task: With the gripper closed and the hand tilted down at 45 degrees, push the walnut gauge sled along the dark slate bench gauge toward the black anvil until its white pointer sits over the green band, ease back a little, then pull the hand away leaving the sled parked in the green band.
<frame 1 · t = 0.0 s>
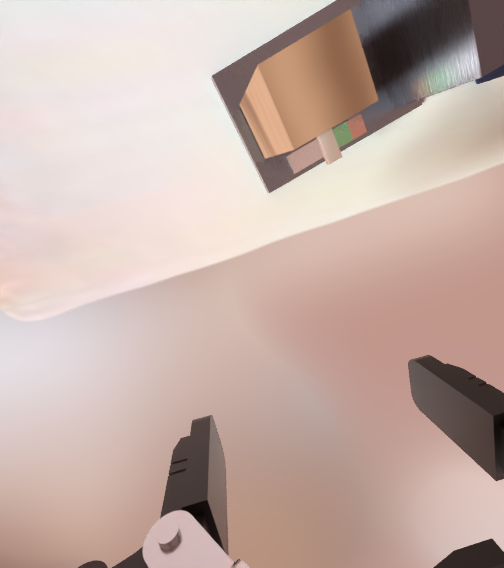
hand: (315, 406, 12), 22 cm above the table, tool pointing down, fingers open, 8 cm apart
bench gauge: (296, 107, 28), on the table
gauge sled: (302, 117, 23), point 6 cm above the table, slide at 0.0 cm
eraser: (480, 70, 30), on the table
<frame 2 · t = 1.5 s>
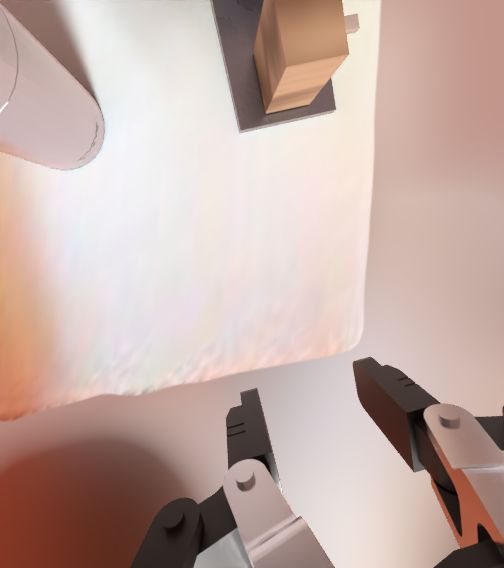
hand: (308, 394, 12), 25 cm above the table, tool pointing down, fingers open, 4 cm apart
bench gauge: (275, 64, 32), on the table
gauge sled: (305, 50, 27), point 6 cm above the table, slide at 0.0 cm
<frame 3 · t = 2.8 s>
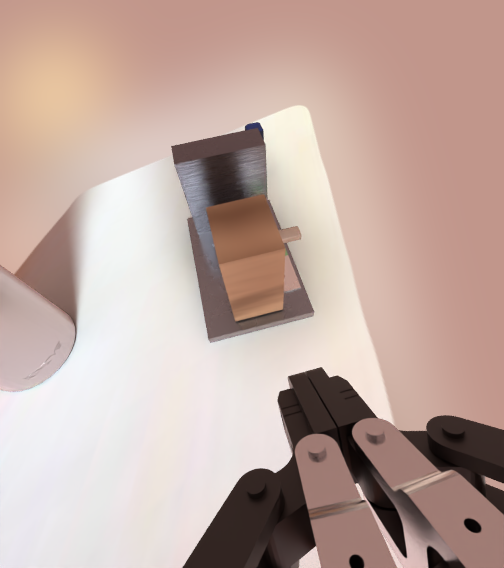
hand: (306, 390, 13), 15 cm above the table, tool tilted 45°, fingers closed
bench gauge: (248, 281, 34), on the table
gauge sled: (259, 260, 27), point 6 cm above the table, slide at 0.0 cm
eraser: (257, 172, 44), on the table
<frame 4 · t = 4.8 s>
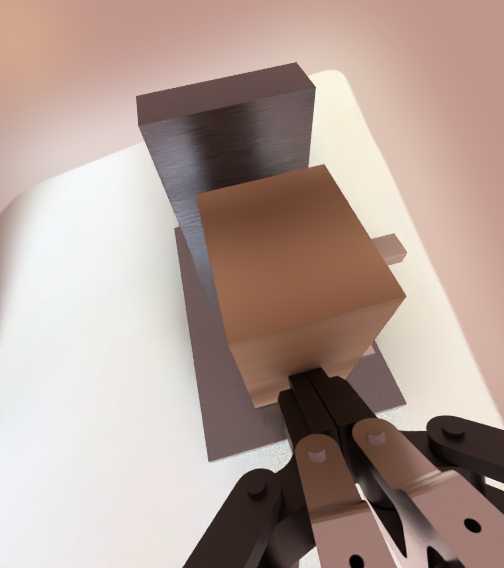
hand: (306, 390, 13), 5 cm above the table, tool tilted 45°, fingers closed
bench gauge: (277, 336, 20), on the table
gauge sled: (306, 302, 14), point 6 cm above the table, slide at 0.9 cm, touching gripper
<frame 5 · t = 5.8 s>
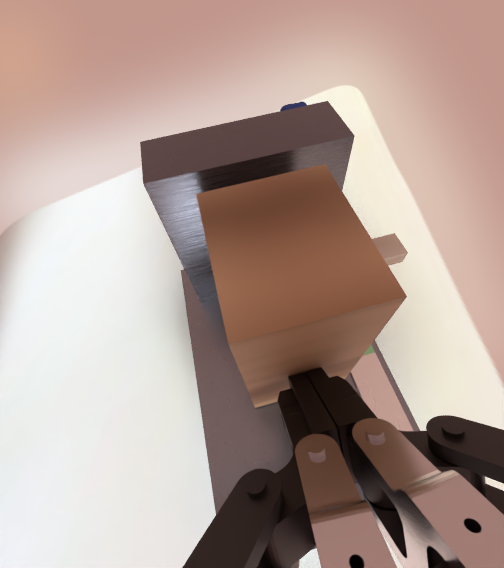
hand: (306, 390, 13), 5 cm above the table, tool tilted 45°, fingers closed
bench gauge: (299, 405, 17), on the table
gauge sled: (306, 302, 14), point 6 cm above the table, slide at 5.3 cm, touching gripper
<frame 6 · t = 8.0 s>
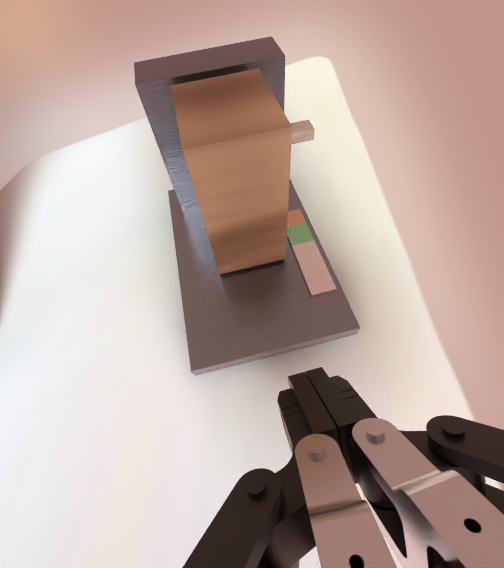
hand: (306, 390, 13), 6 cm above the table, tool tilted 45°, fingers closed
bench gauge: (255, 280, 23), on the table
gauge sled: (253, 181, 19), point 6 cm above the table, slide at 5.4 cm
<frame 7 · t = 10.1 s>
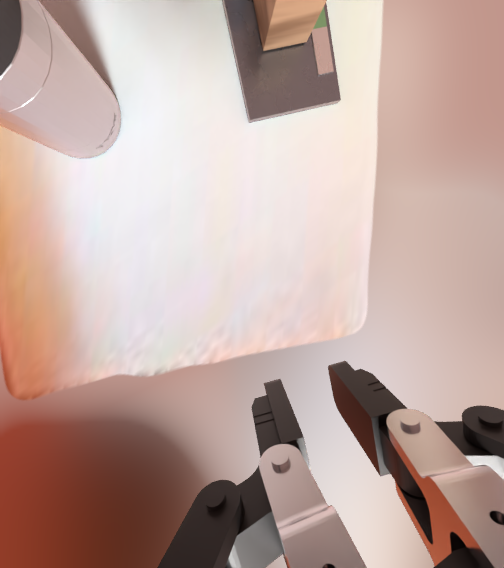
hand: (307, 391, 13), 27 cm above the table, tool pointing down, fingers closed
bench gauge: (283, 56, 34), on the table
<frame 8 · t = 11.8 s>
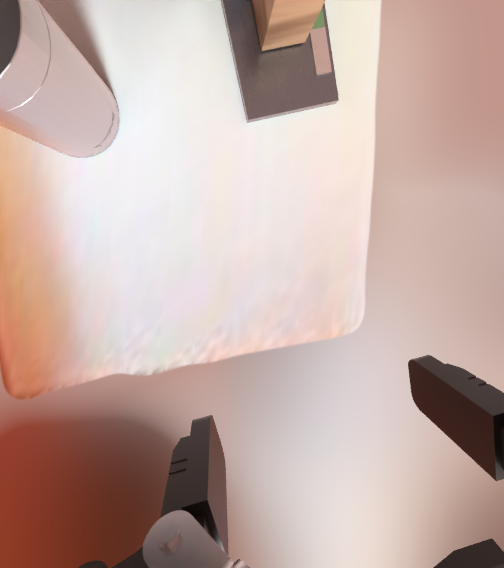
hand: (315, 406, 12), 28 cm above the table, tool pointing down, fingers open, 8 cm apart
bench gauge: (281, 56, 34), on the table
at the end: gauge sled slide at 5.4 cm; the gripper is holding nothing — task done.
